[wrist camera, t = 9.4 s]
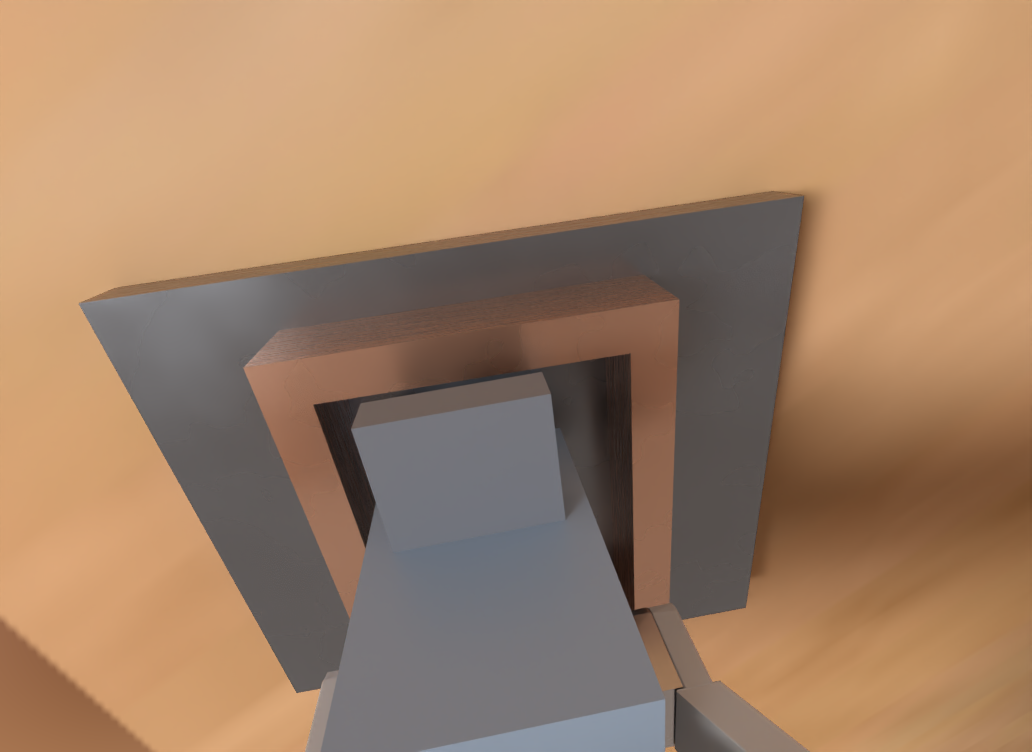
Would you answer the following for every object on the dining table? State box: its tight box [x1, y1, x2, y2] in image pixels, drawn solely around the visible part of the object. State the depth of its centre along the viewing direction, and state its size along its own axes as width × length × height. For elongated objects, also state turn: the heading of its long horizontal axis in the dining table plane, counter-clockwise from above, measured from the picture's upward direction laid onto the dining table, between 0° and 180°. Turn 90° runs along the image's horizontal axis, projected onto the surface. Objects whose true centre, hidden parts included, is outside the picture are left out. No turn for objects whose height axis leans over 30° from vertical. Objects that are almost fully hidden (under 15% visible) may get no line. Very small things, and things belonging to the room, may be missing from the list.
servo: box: [321, 372, 665, 752], centre depth 10 cm, size 4×12×6 cm, turn 8°
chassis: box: [79, 191, 804, 693], centre depth 13 cm, size 16×14×3 cm
